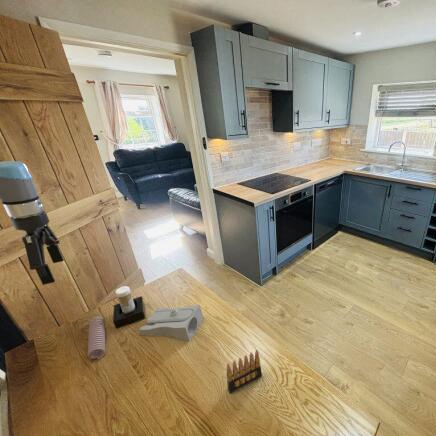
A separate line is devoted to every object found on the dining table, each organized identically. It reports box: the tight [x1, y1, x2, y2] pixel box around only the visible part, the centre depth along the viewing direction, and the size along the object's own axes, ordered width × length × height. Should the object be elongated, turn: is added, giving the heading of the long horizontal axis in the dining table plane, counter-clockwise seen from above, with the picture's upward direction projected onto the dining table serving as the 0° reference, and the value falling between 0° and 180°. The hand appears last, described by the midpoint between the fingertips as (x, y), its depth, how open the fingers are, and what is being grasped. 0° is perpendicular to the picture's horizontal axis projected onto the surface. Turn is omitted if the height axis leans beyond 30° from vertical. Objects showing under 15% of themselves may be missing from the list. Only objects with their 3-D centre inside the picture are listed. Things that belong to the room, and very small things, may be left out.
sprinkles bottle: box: [115, 285, 137, 315], centre depth 96 cm, size 5×5×14 cm
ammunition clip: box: [226, 349, 263, 394], centre depth 72 cm, size 11×2×12 cm, turn 120°
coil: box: [87, 316, 107, 360], centre depth 86 cm, size 5×5×18 cm
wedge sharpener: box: [138, 304, 204, 342], centre depth 92 cm, size 11×20×7 cm, turn 83°
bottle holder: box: [112, 295, 146, 330], centre depth 97 cm, size 10×10×4 cm
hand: (54, 271), depth 80 cm, fingers open, 13 cm apart
